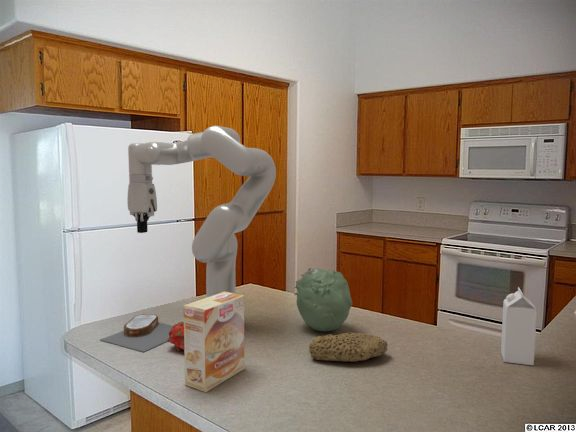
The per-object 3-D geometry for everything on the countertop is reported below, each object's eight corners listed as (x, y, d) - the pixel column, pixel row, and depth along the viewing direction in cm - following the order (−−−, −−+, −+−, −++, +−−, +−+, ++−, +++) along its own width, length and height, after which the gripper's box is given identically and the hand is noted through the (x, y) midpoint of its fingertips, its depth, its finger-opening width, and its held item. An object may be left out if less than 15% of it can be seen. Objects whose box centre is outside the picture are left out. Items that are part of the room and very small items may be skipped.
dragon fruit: (168, 350, 132) (204, 361, 129) (156, 342, 125) (194, 354, 122) (179, 322, 136) (215, 332, 133) (168, 313, 129) (206, 324, 125)
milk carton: (529, 355, 125) (532, 288, 123) (533, 366, 118) (537, 294, 116) (500, 352, 127) (503, 285, 125) (503, 362, 120) (507, 292, 118)
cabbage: (343, 343, 134) (344, 276, 132) (285, 333, 142) (285, 270, 140) (359, 326, 148) (360, 266, 146) (305, 318, 156) (306, 261, 154)
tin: (119, 337, 138) (147, 339, 138) (119, 326, 137) (147, 329, 137) (136, 320, 153) (161, 322, 153) (137, 311, 152) (162, 313, 152)
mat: (191, 330, 144) (191, 329, 144) (143, 352, 127) (143, 351, 127) (150, 321, 153) (150, 320, 153) (100, 340, 136) (99, 339, 136)
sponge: (309, 369, 119) (386, 362, 114) (305, 339, 120) (380, 331, 115) (321, 359, 132) (390, 352, 126) (317, 331, 133) (385, 324, 127)
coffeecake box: (206, 393, 104) (204, 309, 102) (183, 385, 108) (181, 304, 106) (246, 369, 116) (245, 294, 115) (224, 362, 120) (223, 290, 118)
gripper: (164, 179, 156) (166, 232, 158) (134, 179, 163) (135, 229, 165) (148, 180, 150) (149, 235, 151) (116, 179, 157) (118, 232, 159)
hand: (142, 232), depth 158 cm, fingers closed
